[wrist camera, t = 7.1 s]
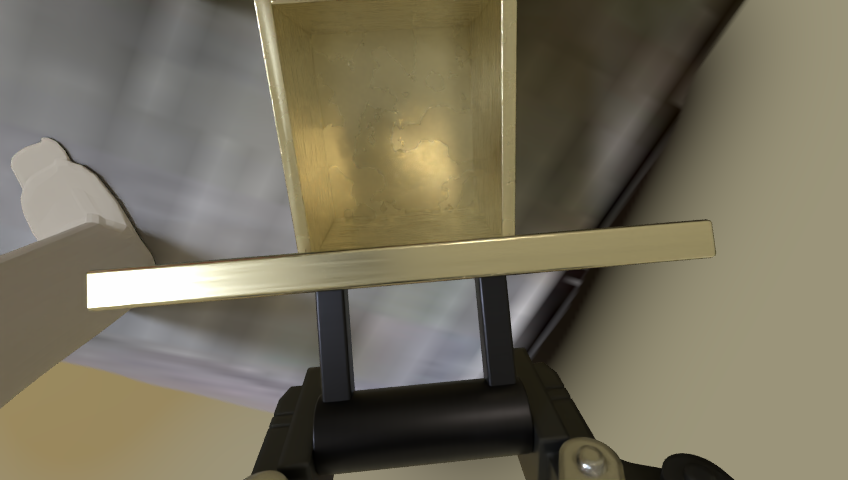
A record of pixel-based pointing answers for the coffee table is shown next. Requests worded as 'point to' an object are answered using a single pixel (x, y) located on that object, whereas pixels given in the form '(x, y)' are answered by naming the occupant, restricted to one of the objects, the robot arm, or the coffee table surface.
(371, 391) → the freezer lid
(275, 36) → the gold open bin
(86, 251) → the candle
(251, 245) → the coffee table surface
